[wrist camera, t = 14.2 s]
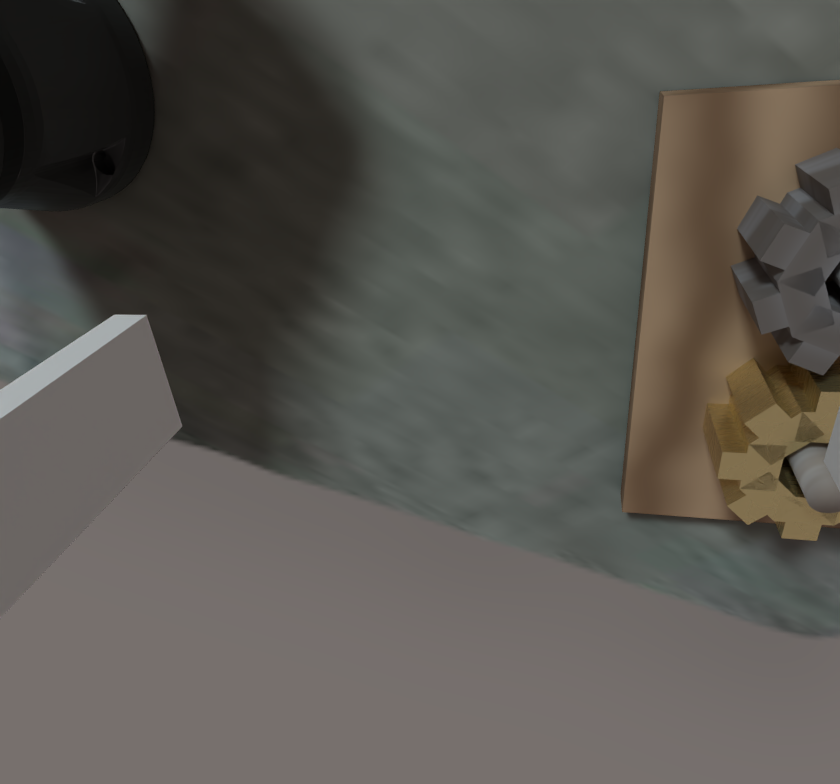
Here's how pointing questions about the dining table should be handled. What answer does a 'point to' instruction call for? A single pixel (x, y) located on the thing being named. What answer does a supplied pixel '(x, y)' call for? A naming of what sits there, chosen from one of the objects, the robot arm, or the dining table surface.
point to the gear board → (732, 279)
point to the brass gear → (772, 442)
